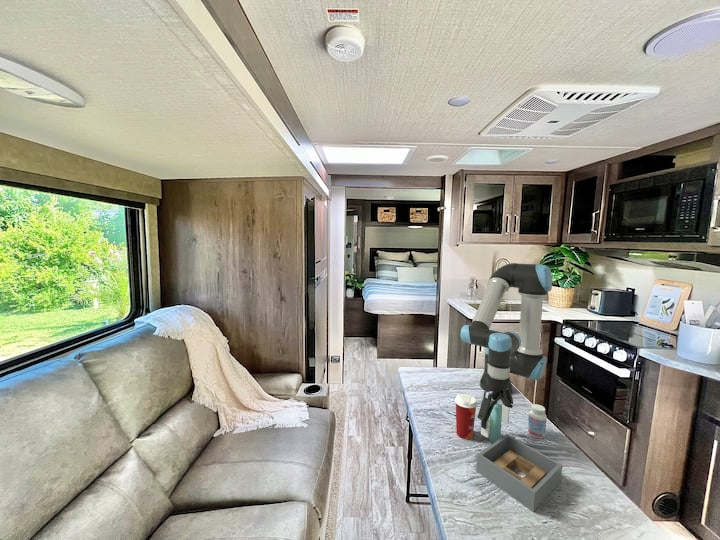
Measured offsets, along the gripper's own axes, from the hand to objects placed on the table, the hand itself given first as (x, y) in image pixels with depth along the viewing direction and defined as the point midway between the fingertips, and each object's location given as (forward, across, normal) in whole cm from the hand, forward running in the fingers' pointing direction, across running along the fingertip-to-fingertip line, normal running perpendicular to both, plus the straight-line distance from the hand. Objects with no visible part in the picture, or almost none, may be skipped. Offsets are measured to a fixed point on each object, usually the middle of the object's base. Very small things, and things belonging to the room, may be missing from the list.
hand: (495, 428), depth 113 cm
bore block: (+5, +10, +14) cm, 18 cm away
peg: (+5, 0, 0) cm, 5 cm away
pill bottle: (+5, -17, +7) cm, 19 cm away
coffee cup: (+5, +6, -9) cm, 12 cm away
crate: (+5, +10, +14) cm, 18 cm away
